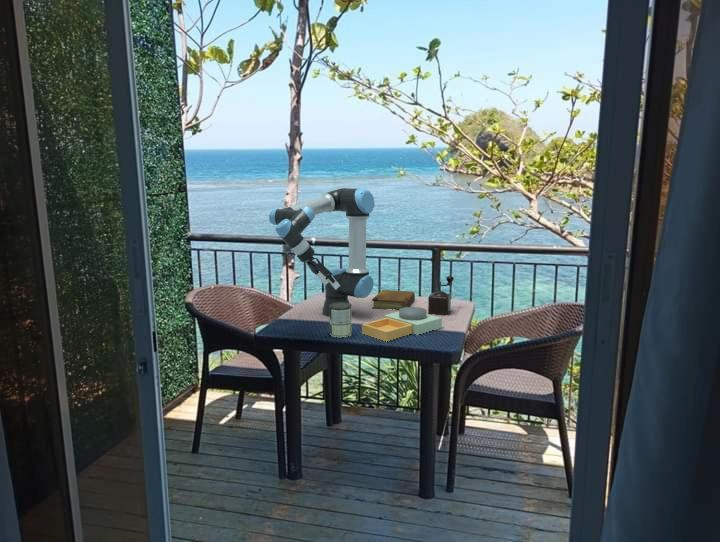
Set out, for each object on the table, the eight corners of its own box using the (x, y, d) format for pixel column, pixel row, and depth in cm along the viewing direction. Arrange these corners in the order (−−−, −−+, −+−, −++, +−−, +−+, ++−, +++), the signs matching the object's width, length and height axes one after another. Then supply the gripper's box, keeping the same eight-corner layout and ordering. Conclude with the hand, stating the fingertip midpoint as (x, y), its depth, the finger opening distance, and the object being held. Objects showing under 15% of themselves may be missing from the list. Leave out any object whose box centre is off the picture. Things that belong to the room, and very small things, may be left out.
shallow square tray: (361, 333, 265) (361, 324, 264) (387, 326, 275) (387, 317, 275) (386, 342, 253) (386, 332, 252) (412, 334, 263) (412, 324, 262)
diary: (406, 312, 303) (406, 301, 302) (372, 309, 308) (372, 299, 307) (414, 301, 325) (414, 291, 324) (382, 299, 330) (382, 289, 329)
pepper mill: (449, 316, 293) (449, 281, 289) (427, 314, 296) (428, 280, 293) (453, 308, 307) (454, 275, 304) (433, 306, 311) (433, 274, 307)
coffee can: (325, 333, 265) (324, 304, 262) (343, 329, 271) (342, 300, 268) (338, 339, 257) (337, 308, 254) (356, 334, 263) (356, 305, 260)
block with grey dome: (384, 325, 278) (384, 309, 276) (408, 318, 289) (408, 303, 287) (417, 335, 262) (417, 318, 260) (441, 328, 272) (442, 311, 271)
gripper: (288, 253, 261) (317, 287, 269) (305, 258, 239) (336, 295, 246) (300, 242, 263) (328, 276, 271) (318, 246, 240) (348, 283, 248)
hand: (332, 285), depth 258 cm, fingers open, 13 cm apart
